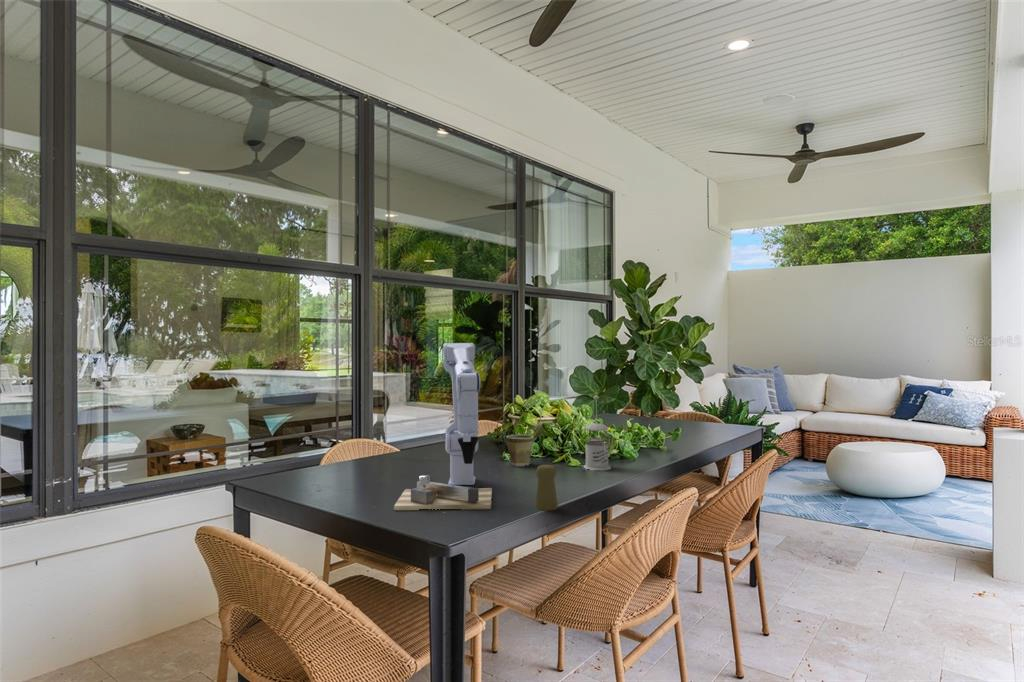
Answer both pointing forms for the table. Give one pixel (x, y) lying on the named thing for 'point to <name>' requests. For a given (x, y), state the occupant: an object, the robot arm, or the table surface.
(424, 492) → the grey rectangular block
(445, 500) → the cracker board
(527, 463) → the flower pot
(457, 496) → the lever
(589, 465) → the french press
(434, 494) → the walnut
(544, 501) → the pepper mill
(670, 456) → the table surface
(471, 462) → the robot arm
